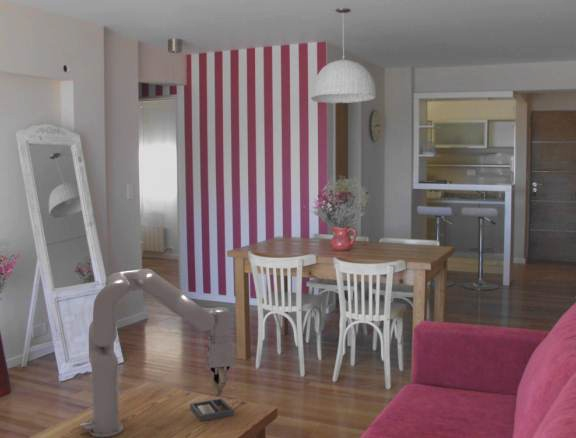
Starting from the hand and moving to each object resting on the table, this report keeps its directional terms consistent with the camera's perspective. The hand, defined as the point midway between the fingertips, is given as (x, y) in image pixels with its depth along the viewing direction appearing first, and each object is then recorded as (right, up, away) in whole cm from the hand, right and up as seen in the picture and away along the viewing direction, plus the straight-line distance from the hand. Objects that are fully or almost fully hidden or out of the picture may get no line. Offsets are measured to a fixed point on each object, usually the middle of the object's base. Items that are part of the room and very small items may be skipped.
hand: (219, 382), depth 266 cm
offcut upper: (-5, -12, -1) cm, 13 cm away
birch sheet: (-2, -4, +5) cm, 6 cm away
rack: (-3, -13, 0) cm, 13 cm away
